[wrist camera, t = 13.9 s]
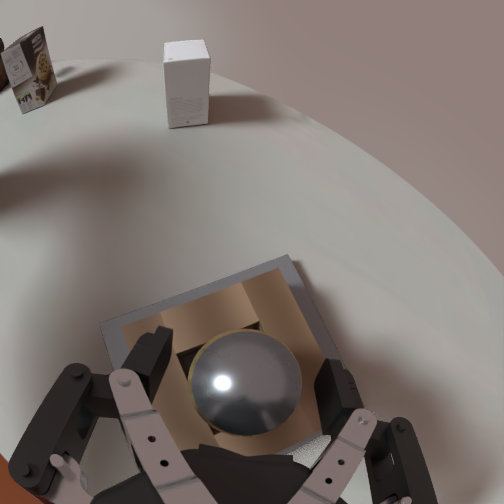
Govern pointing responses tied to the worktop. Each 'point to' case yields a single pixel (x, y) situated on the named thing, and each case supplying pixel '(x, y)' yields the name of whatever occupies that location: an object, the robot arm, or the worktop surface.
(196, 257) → the worktop surface
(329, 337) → the base
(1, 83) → the owl
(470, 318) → the worktop surface
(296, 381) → the gold-rimmed metal cylinder
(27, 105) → the coffee box
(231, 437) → the socket block
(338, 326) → the worktop surface
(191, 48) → the small box
